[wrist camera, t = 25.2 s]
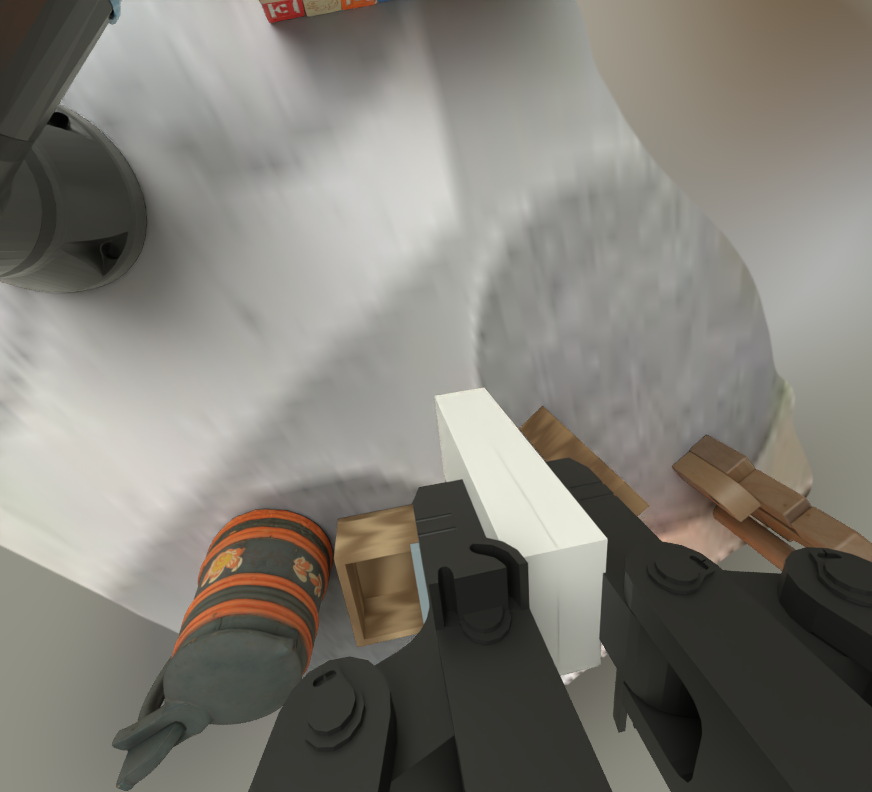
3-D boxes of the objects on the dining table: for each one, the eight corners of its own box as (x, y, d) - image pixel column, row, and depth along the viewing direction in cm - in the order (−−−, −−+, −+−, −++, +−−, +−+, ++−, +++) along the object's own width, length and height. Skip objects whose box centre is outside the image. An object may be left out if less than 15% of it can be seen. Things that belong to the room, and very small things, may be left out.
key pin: (539, 446, 52) (615, 535, 36) (519, 428, 50) (589, 513, 34) (562, 424, 51) (649, 505, 35) (542, 405, 50) (624, 481, 34)
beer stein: (246, 634, 55) (185, 833, 36) (156, 573, 49) (30, 773, 31) (356, 556, 53) (351, 724, 35) (276, 485, 48) (219, 639, 29)
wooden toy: (668, 466, 56) (878, 621, 33) (706, 433, 55) (949, 570, 32) (717, 522, 62) (926, 688, 39) (753, 493, 61) (989, 645, 38)
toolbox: (358, 600, 56) (357, 647, 49) (337, 518, 50) (334, 559, 44) (484, 572, 58) (499, 614, 51) (476, 491, 52) (492, 526, 46)
